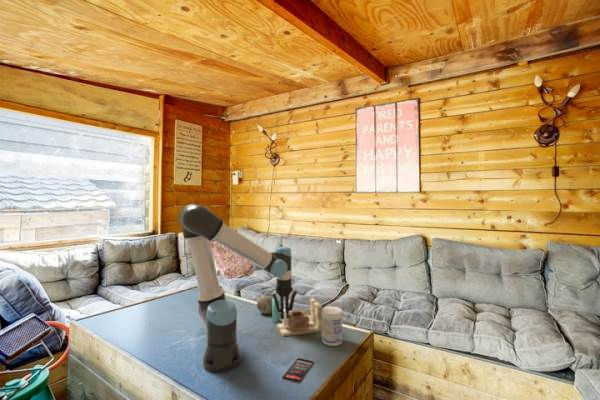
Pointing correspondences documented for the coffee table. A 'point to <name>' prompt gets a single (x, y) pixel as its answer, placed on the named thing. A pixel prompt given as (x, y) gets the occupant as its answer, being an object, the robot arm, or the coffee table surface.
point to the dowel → (275, 312)
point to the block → (298, 320)
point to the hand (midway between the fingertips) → (284, 324)
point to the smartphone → (298, 370)
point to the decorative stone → (265, 304)
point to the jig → (314, 321)
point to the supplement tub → (332, 326)
